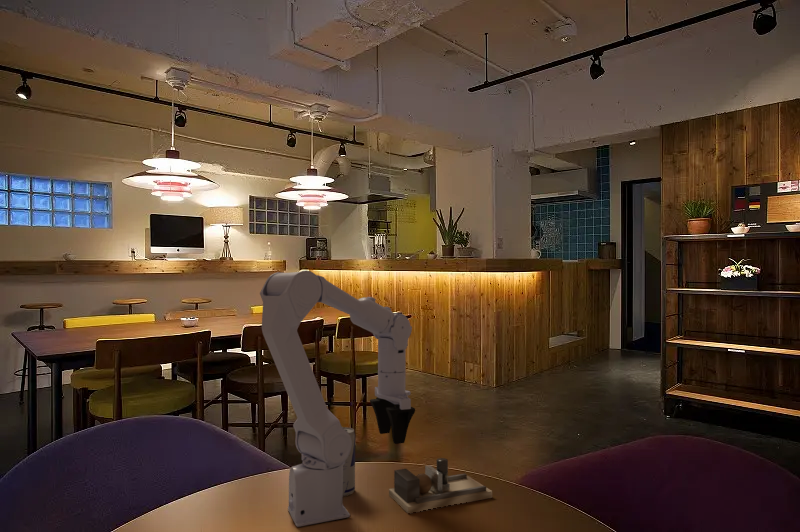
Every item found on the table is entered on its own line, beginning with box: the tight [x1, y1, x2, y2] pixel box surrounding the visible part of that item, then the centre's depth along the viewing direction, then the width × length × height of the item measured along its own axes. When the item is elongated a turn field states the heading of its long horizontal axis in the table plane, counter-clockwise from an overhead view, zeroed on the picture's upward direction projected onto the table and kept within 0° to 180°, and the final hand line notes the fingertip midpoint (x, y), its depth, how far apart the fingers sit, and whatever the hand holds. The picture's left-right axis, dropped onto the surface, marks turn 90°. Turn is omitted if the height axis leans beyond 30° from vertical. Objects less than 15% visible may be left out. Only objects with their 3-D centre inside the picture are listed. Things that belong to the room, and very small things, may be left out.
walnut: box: [415, 473, 432, 494], centre depth 94 cm, size 4×4×4 cm
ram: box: [424, 457, 450, 494], centre depth 96 cm, size 4×5×5 cm
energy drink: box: [342, 426, 356, 497], centre depth 98 cm, size 5×5×12 cm
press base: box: [388, 468, 493, 514], centre depth 96 cm, size 18×9×5 cm, turn 114°
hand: (391, 437), depth 101 cm, fingers open, 7 cm apart
